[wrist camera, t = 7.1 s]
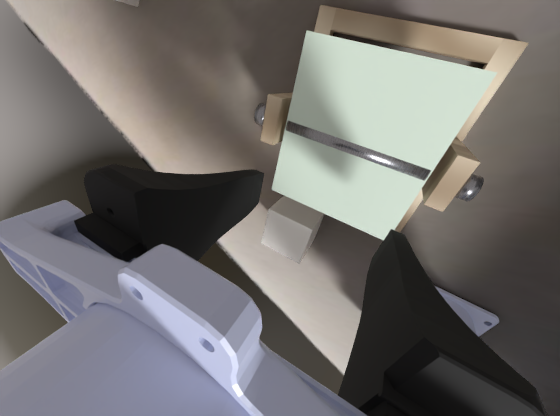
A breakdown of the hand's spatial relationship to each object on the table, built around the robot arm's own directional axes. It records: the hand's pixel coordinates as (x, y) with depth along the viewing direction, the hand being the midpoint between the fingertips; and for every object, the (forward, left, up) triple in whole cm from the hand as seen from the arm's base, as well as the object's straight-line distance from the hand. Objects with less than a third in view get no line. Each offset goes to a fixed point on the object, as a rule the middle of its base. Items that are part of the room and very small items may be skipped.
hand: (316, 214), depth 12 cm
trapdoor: (+3, 0, -6) cm, 7 cm away
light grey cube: (-8, +3, -10) cm, 13 cm away
